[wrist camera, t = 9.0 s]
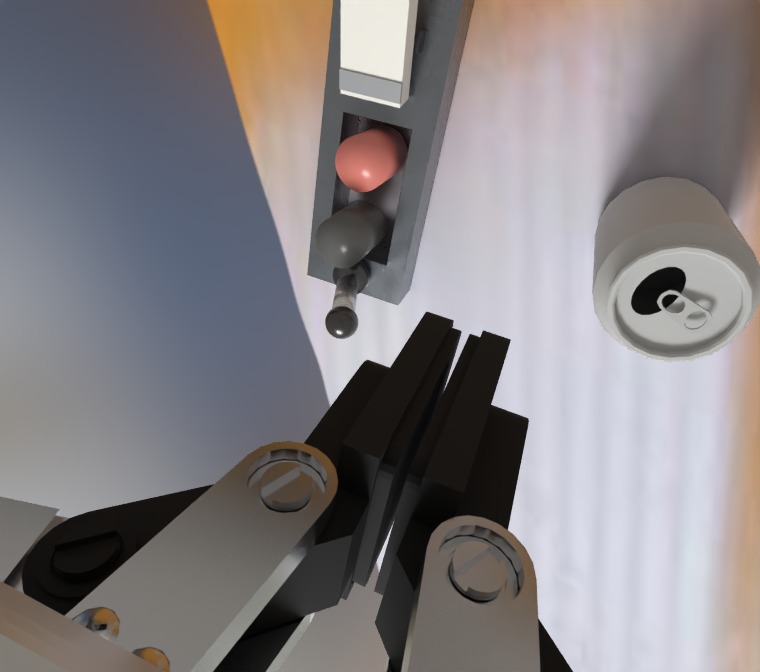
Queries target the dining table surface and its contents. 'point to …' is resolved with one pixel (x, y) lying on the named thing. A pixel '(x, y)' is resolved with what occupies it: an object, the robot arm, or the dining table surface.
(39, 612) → the robot arm
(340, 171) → the button
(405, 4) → the block
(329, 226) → the button
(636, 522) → the dining table surface
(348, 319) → the toggle
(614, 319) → the can
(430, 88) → the panel
